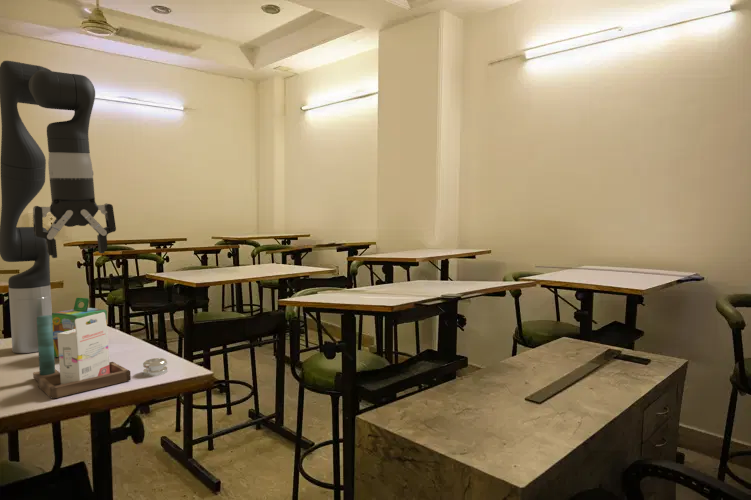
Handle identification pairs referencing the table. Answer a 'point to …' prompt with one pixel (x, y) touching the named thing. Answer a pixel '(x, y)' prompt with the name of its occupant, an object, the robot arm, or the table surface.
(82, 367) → the ink cartridge box
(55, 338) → the chalk box
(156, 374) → the metal grooved wheel
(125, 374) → the wooden display tray
